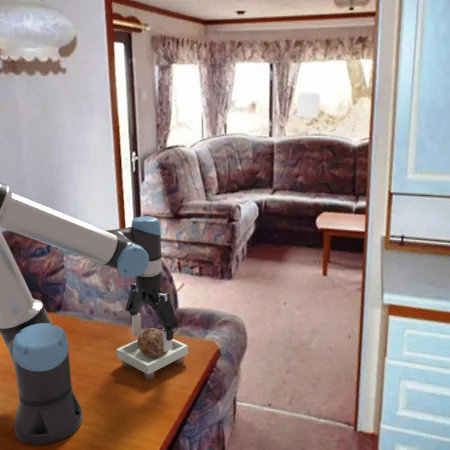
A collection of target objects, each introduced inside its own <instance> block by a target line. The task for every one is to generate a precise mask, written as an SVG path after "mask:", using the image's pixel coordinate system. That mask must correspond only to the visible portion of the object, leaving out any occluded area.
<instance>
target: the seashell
mask: <svg viewBox="0 0 450 450" xmlns="http://www.w3.org/2000/svg"><path fill="white" fill-rule="evenodd" d="M137 340H138V342H137V344H138V348H139V350H140V351H141V352H142V353H143V354H145V355H146V356H150V357H153V358H159V357H162V356H164V355H165V354H166V353H167V352H168V351H169V350H168V351H166V352H164V351H163V330H161V329H158V328H154V327H149V328H146V329H144V330H141V333H140V335H138V336H137Z"/></svg>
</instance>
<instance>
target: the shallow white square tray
mask: <svg viewBox="0 0 450 450" xmlns="http://www.w3.org/2000/svg"><path fill="white" fill-rule="evenodd" d="M137 342H138V339H136V340H134V341H132V342H129V343H127V344H125V345H122V346H121V347H118V348H116V350H115V351H116V358H118V359H119V360H121V365H122V367H123V368H130V367H133V368H136V369H137V370H139V371H141V372H143V373H144V374H143V375H144V379H145V380H147V381H151V380H153V379H155V377H156V376H155V375H156V374H155V373H156V371H158V370H159V369H161V368H164V367H166V366H167V365H170V364H171V363H173V362H174V364H175V365H182V364H183V363H184V361H185V359H184V357H185V356H187V355H188V354H189V344H188V345H187V344H186V343H183V342H182V341H179V340H176V339H174V338H173V339H172V347H173V348H172V349H170V350H169V351H168V352H167V353H166V354H165V355H164V356H162V357H159V358H153V357H150V356H146V355H145V354H143V353H142V352H141V351H140V350H139V348H138V344H137Z"/></svg>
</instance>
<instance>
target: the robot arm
mask: <svg viewBox="0 0 450 450" xmlns="http://www.w3.org/2000/svg"><path fill="white" fill-rule="evenodd" d="M160 224H161V223H160V220H159V219H158V218H157V217H155V216H150V215H149V216H147V215H145V216H138V217H134V218H133V219H132V220H131V226H129V227H123V228H116V229H109V230H105V229H104V230H103V229H101V228H99V227H96V226H94V225H92V224H89V223H87V222H86V221H85V222H84V221H82V220H81V219H78V218H75V217H72V216H70V215H67V214H64V213H63V212H60V211H57V210H55V209H53V208H51V207H49V206H45V205H43V204H40V203H38V202H35V201H33V200H30V198H29V199H28V198H26V197H23V196H22V195H19V194H16V193H14V192H12V191H11V188H10V187H9V185H7V184H5V183H3V182H0V228H2V229H5V230H7V231H10V232H13V233H15V234H18V235H21V236H24V237H26V238H30V239H33V240H35V241H38V242H41V243H42V244H43V243H44V244H46V245H49V246H52V247H54V248H57V249H61V250H63V251H66V252H67V253H68V252H69V253H71V254H74V255H77V256H79V257H82V258H85V259H86V260H91V261H93V262H96V263H98V264H101V265H104V266H106V267H108V268H111V269H114V270H117V271H119V272H120V273H121V274H122V275H124V276H126V277H130V278H134V279H135V280H134V281H135V283H132V284H130V292H129V296H128V299H127V302H126V305H125V311H126V312H129V315H130V319H131V320H130V323H131V327H132V328H131V330H132V337H134V338H135V337H139V335H140V333H141V332H142V318H141V315H142V314H141V313H140V312H141V311H140V310H141V309H142V307H143V306H144V305H148V306H149V307H150V306H151V308H152V310H154V311H155V313H156V315H157V317H158V318H159V320H160V322H161V324H162V327H163V329H162V331H163V351H164V352H166V351H168V350H170V349H172V348H173V347H172V339H174V329H175V330H176V329H177V328H179V323H178V319H177V317H176V314H175V312H174V309H173V306H172V303H171V299H170V294H169V293H168V292H166V293H162V291H161V290H162V289H161V288H162V286H163V285H164V284H163V282H164V281H163V280H164V279H163V272H162V271H163V261H162V259H163V258H162V232H161V225H160ZM2 229H0V336H1V337H2V340H3V341H4V344H5V345H6V348H7V350H8V353H9V355H10V359H11V362H12V365H13V367H14V370H15V371H14V372H15V375H16V377H15V378H16V385H17V392H18V398H19V399H18V405H17V409H16V413H15V418H14V423H13V424H14V425H13V426H14V434H15V436H16V438H17V440H19V441H20V442H21V443H24V444H27V445H32V446H44V445H50V444H54V443H57V442H61V441H62V440H64V439H65V440H66V438H68V437H70V436H72V435H73V434H74V433H75V432H77V430H78V429H79V428H80V426H81V425H82V423H83V410H82V407H81V405H80V403H79V400H78V399H77V397H76V395H75V392H74V390H73V387H72V375H71V365H70V353H69V350H70V349H69V348H70V347H69V346H70V345H69V340H68V338H67V334H66V332H65V330H64V329H63V328H62V327H60V326H58V325H56V324H54V325H53V322H52V320H51V319H50V316H49V314H48V312H47V310H46V308H45V306H44V304H43V302H42V301H41V300H40V299H37V298H36V299H35V298H33V296H32V293H31V291H30V290H29V287H28V285H27V283H26V280H25V278H24V277H23V275H22V272H21V270H20V268H19V265H18V264H17V262H16V260H15V258H14V256H13V253H12V250H11V249H10V247H9V245H8V242H7V241H6V238H5V237H4V234H3V233H2Z"/></svg>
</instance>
